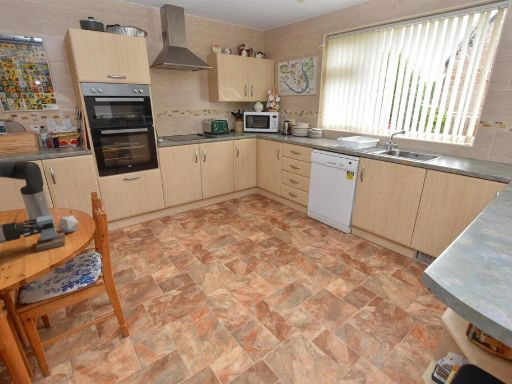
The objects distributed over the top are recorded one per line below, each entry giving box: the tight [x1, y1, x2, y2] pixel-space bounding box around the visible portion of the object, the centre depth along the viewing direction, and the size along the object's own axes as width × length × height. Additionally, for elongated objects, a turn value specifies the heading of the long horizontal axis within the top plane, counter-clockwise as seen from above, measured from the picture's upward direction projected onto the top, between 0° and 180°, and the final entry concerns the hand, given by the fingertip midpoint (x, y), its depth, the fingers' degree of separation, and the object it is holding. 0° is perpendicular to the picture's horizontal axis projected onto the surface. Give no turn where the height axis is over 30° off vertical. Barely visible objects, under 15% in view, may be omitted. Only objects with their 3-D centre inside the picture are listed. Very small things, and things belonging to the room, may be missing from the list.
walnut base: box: [35, 231, 66, 253], centre depth 125 cm, size 10×10×3 cm
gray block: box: [37, 214, 58, 240], centre depth 122 cm, size 6×6×9 cm
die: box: [57, 215, 79, 234], centre depth 136 cm, size 8×9×10 cm
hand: (52, 222), depth 123 cm, fingers closed on gray block, 5 cm apart
